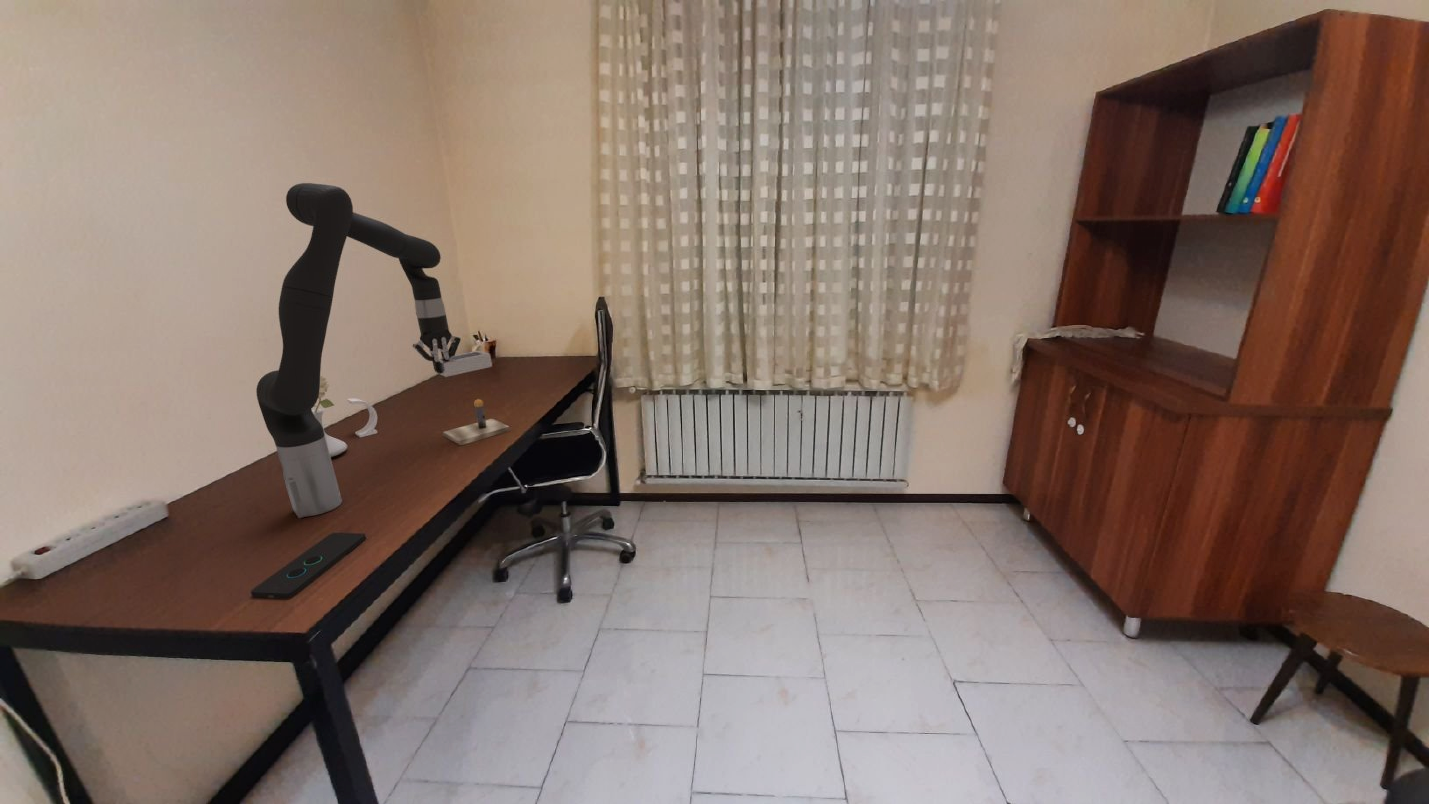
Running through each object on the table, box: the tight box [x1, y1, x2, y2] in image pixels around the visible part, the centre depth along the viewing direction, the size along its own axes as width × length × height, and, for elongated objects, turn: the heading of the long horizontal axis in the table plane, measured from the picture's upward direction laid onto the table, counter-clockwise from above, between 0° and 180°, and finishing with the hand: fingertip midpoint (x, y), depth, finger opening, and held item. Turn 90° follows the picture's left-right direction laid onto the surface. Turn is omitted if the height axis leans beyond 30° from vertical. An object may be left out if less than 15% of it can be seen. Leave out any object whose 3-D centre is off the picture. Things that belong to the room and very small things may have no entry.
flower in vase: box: [311, 375, 348, 458], centre depth 158 cm, size 13×11×25 cm
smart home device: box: [250, 532, 367, 600], centre depth 108 cm, size 8×2×20 cm
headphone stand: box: [346, 397, 378, 438], centre depth 178 cm, size 5×6×12 cm
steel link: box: [435, 350, 493, 378], centre depth 168 cm, size 14×8×4 cm, turn 136°
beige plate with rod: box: [442, 398, 511, 446], centre depth 175 cm, size 16×12×11 cm
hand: (443, 372), depth 165 cm, fingers closed on steel link, 1 cm apart
